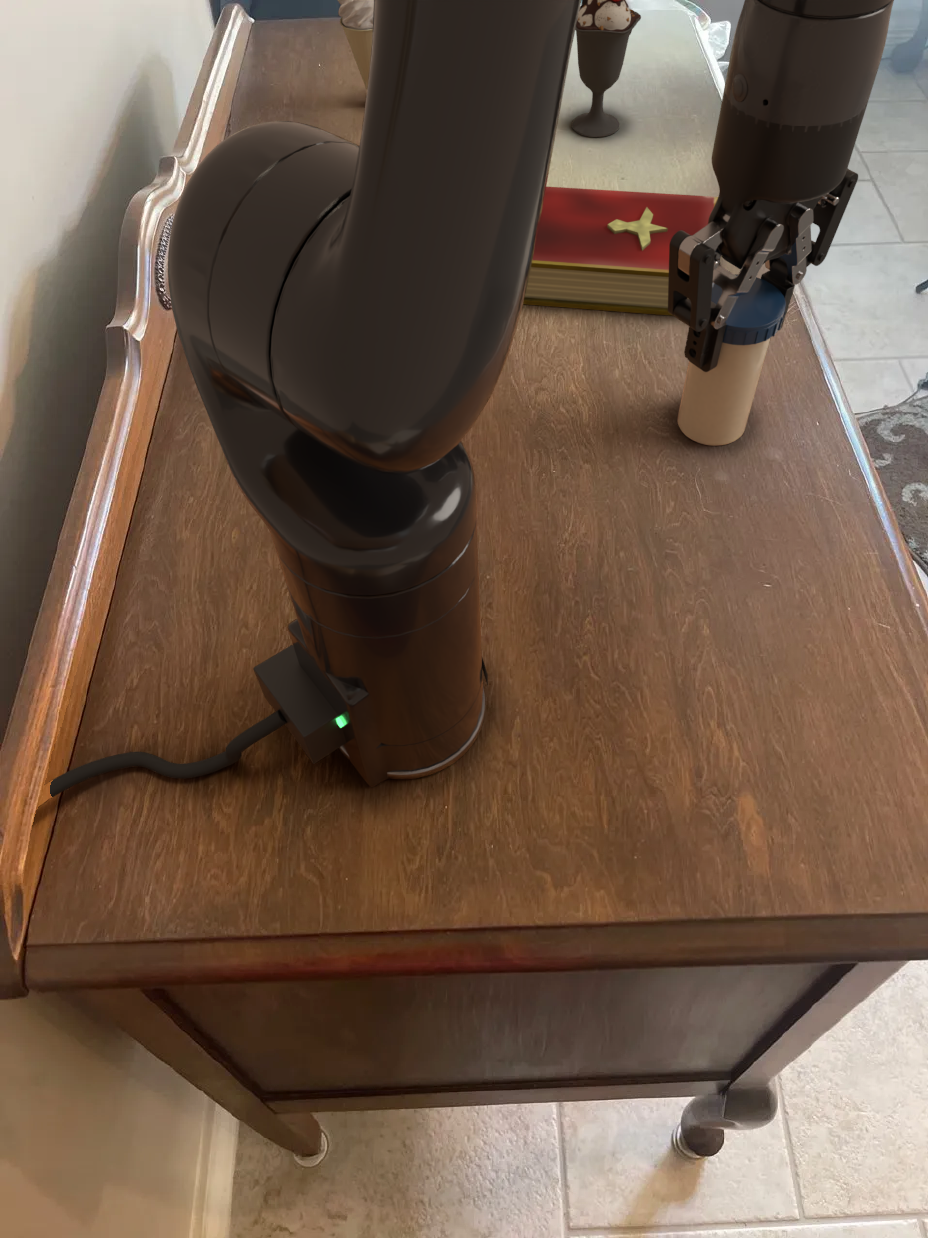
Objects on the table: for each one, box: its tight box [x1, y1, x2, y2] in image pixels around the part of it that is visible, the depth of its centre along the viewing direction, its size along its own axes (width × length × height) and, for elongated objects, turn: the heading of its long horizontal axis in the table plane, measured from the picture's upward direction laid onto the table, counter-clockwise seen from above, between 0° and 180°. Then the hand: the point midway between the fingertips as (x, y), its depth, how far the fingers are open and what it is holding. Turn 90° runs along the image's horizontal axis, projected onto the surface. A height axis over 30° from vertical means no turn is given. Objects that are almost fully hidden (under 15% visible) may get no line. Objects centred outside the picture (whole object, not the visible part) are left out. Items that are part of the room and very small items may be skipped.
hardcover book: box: [523, 185, 718, 317], centre depth 79 cm, size 12×21×4 cm, turn 80°
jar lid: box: [711, 273, 786, 345], centre depth 61 cm, size 6×6×1 cm
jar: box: [676, 337, 772, 447], centre depth 64 cm, size 5×5×10 cm
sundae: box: [571, 0, 642, 138], centre depth 89 cm, size 7×7×15 cm
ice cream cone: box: [337, 0, 374, 91], centre depth 93 cm, size 5×5×15 cm
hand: (733, 344), depth 63 cm, fingers closed on jar lid, 5 cm apart
